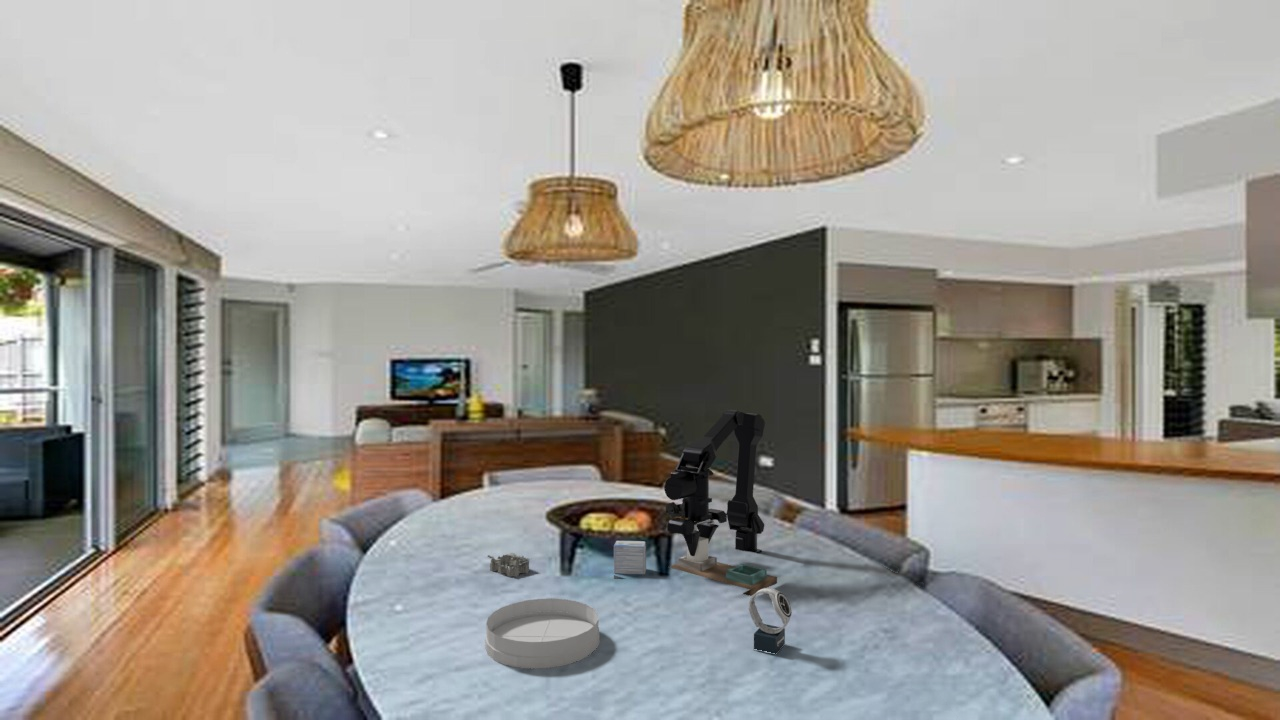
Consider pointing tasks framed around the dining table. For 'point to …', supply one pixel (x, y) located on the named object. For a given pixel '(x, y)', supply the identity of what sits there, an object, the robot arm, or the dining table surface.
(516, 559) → the toy castle
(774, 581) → the socket board
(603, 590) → the dining table surface
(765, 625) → the watch
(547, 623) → the dish
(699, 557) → the plug
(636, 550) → the medicine box
